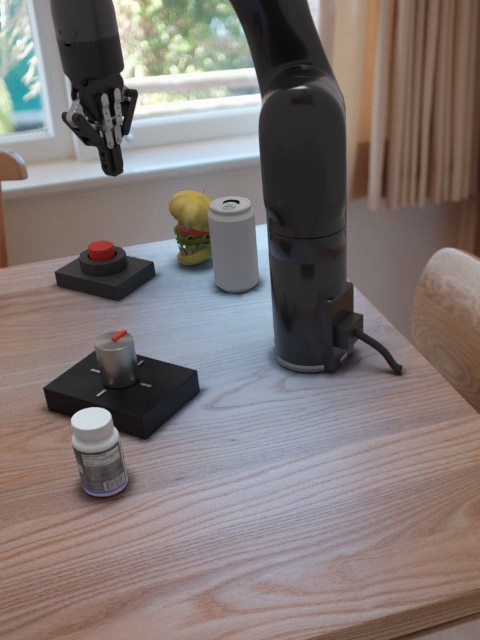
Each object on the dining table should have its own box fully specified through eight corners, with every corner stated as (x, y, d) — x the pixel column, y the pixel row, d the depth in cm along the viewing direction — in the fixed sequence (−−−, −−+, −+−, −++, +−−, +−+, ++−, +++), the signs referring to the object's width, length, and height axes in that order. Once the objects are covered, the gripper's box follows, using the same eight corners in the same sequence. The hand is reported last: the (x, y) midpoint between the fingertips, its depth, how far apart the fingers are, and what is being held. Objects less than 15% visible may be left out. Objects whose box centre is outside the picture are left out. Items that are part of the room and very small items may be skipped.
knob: (124, 392, 103) (116, 351, 100) (93, 383, 105) (85, 342, 102) (147, 374, 106) (140, 333, 103) (117, 365, 108) (109, 325, 105)
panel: (200, 391, 109) (197, 368, 107) (146, 439, 101) (141, 416, 99) (106, 365, 114) (102, 343, 112) (48, 409, 106) (42, 386, 104)
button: (120, 254, 131) (118, 242, 130) (104, 264, 128) (102, 252, 127) (100, 250, 132) (98, 238, 131) (84, 259, 129) (82, 247, 128)
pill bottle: (86, 471, 97) (70, 405, 92) (130, 469, 97) (117, 403, 92) (80, 499, 93) (63, 432, 88) (126, 496, 94) (112, 429, 88)
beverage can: (262, 275, 133) (257, 194, 125) (255, 295, 128) (249, 212, 121) (220, 274, 134) (212, 193, 126) (211, 294, 129) (202, 211, 121)
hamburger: (186, 250, 140) (176, 172, 133) (230, 253, 139) (223, 175, 131) (169, 271, 134) (157, 191, 127) (215, 275, 133) (207, 194, 126)
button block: (156, 275, 134) (152, 249, 131) (118, 300, 127) (113, 274, 125) (96, 261, 137) (91, 236, 135) (57, 285, 131) (51, 259, 129)
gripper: (97, 17, 116) (122, 155, 127) (25, 41, 107) (59, 187, 118) (144, 21, 113) (166, 162, 124) (75, 46, 104) (105, 195, 115)
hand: (114, 174), depth 121 cm, fingers closed
